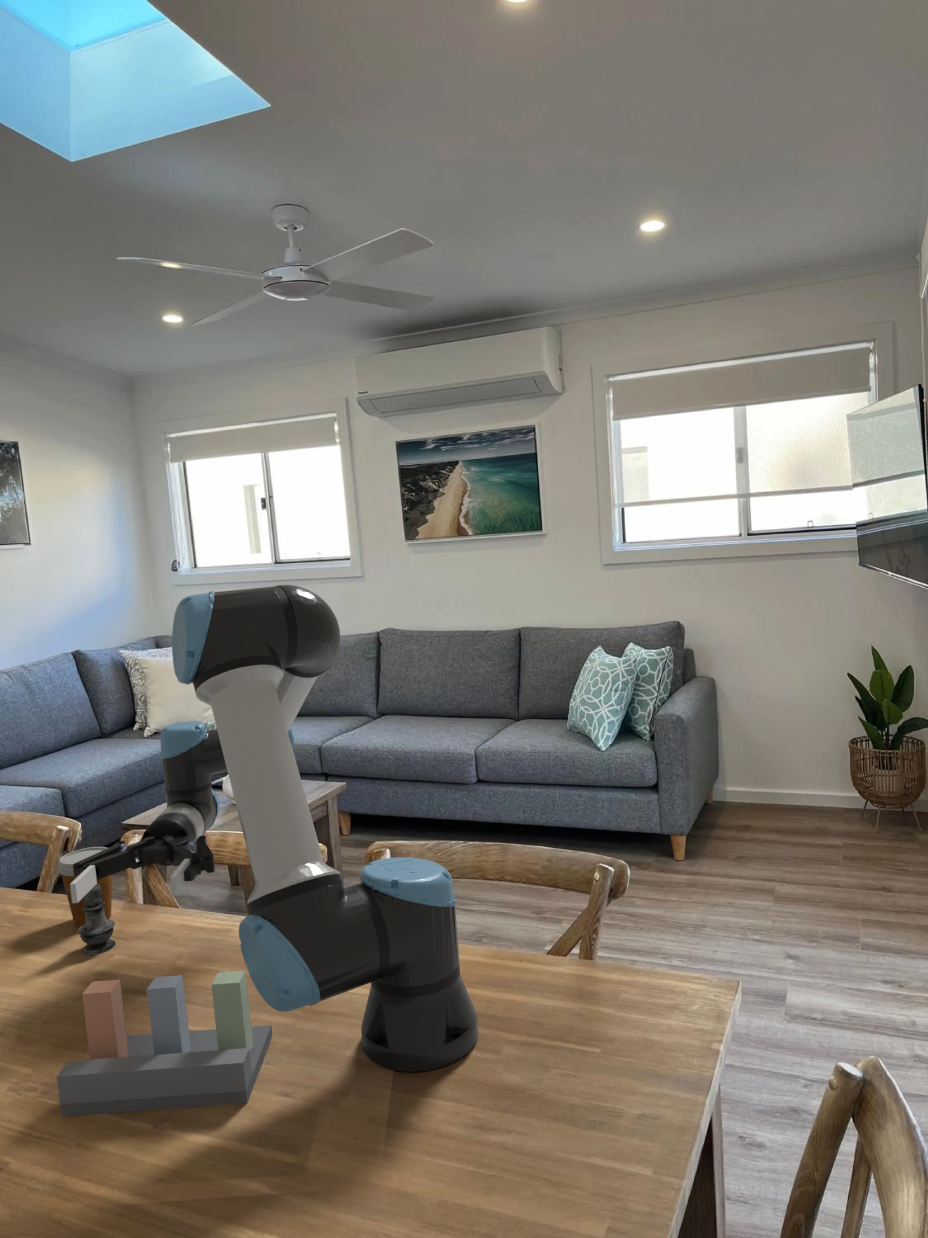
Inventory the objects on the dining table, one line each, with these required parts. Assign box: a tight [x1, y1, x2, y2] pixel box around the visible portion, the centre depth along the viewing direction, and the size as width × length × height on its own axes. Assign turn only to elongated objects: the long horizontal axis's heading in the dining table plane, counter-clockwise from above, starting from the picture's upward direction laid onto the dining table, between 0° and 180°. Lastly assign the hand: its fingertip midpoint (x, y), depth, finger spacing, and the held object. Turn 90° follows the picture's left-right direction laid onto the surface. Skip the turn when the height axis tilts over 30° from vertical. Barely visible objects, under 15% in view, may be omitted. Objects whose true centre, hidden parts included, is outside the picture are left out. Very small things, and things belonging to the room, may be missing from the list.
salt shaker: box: [77, 884, 116, 956], centre depth 149 cm, size 6×6×12 cm
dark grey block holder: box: [56, 1024, 274, 1117], centre depth 111 cm, size 22×14×5 cm, turn 90°
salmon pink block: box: [82, 979, 128, 1060], centre depth 111 cm, size 4×3×10 cm
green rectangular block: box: [211, 970, 253, 1052], centre depth 111 cm, size 4×3×10 cm
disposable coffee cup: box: [56, 846, 113, 927], centre depth 161 cm, size 10×10×12 cm
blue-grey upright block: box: [146, 974, 191, 1055], centre depth 111 cm, size 4×3×10 cm
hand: (123, 890), depth 120 cm, fingers open, 13 cm apart
